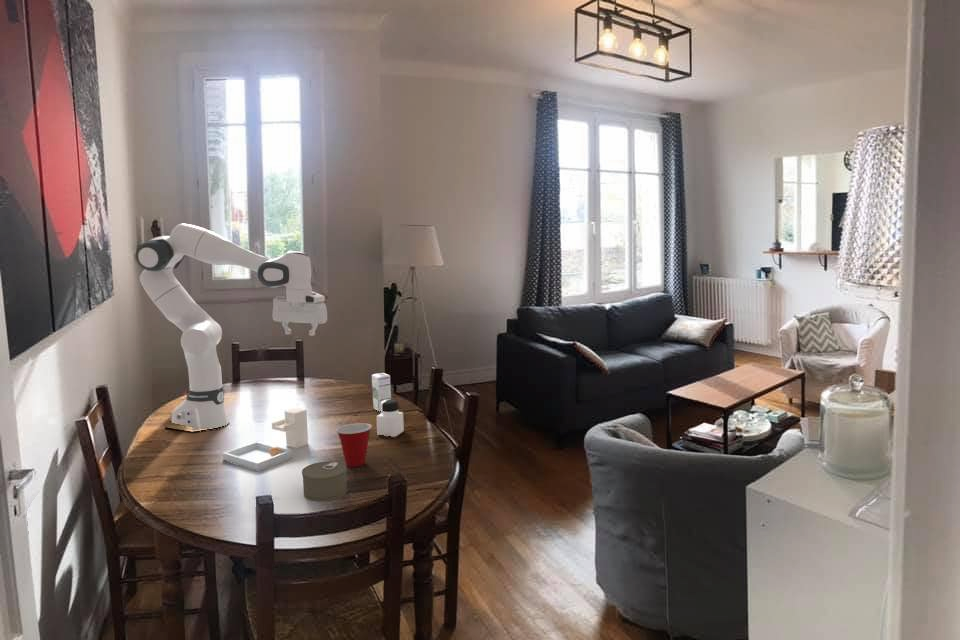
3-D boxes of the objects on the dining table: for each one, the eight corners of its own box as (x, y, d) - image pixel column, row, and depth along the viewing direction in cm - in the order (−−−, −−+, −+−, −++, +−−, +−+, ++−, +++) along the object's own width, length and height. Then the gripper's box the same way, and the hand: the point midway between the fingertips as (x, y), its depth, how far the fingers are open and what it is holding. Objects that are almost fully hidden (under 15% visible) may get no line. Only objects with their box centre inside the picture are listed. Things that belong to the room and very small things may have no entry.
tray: (223, 460, 203) (222, 453, 203) (257, 448, 214) (257, 441, 214) (257, 471, 194) (257, 463, 194) (292, 458, 205) (291, 450, 204)
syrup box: (392, 410, 257) (391, 374, 255) (378, 412, 254) (377, 376, 252) (385, 407, 262) (384, 372, 259) (372, 409, 258) (371, 374, 256)
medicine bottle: (404, 431, 231) (403, 398, 229) (395, 437, 224) (394, 404, 222) (386, 429, 233) (385, 397, 231) (376, 435, 226) (375, 402, 224)
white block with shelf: (297, 441, 221) (295, 407, 219) (309, 444, 218) (307, 410, 216) (273, 449, 213) (271, 414, 211) (285, 453, 209) (283, 417, 208)
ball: (280, 452, 207) (277, 460, 204) (270, 450, 206) (267, 457, 204) (281, 445, 205) (278, 453, 202) (271, 443, 205) (268, 450, 202)
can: (293, 498, 175) (292, 474, 174) (319, 481, 186) (318, 459, 185) (331, 504, 171) (330, 480, 170) (355, 487, 182) (354, 464, 181)
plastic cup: (360, 454, 207) (358, 418, 205) (379, 463, 200) (378, 426, 198) (330, 463, 200) (328, 426, 198) (350, 473, 192) (348, 434, 190)
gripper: (268, 296, 229) (269, 334, 231) (320, 298, 225) (321, 337, 226) (277, 294, 235) (278, 332, 237) (329, 296, 231) (329, 334, 233)
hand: (300, 334), depth 232 cm, fingers open, 8 cm apart
